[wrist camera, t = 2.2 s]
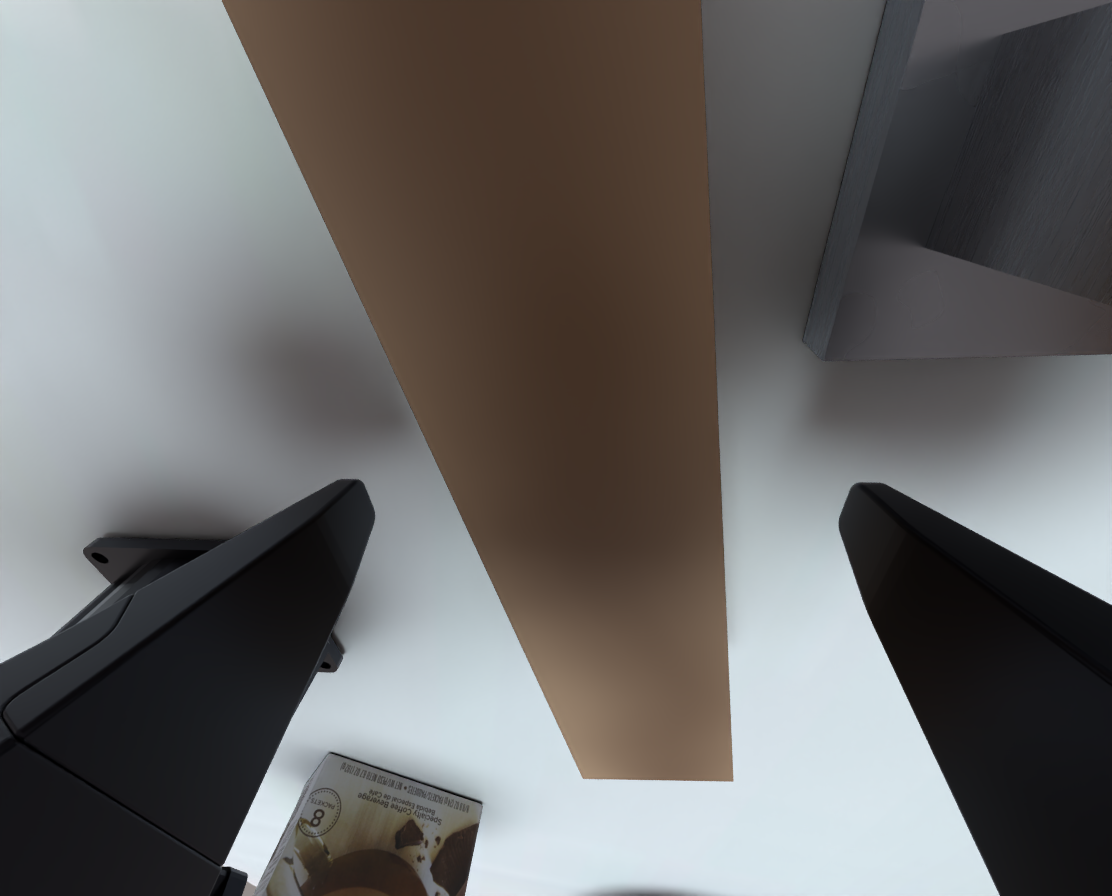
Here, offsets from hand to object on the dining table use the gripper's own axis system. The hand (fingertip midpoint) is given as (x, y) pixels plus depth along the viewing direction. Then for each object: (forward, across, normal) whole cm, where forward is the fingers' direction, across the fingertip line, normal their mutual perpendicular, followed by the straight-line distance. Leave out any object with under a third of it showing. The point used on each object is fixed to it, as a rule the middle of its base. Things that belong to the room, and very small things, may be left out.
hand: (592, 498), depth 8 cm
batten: (+3, 0, 0) cm, 3 cm away
